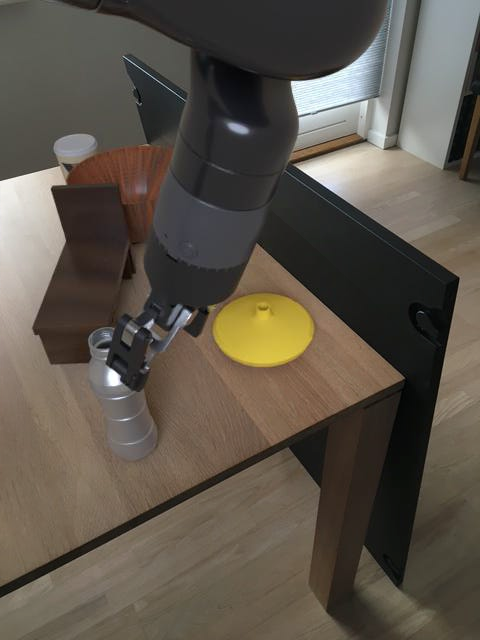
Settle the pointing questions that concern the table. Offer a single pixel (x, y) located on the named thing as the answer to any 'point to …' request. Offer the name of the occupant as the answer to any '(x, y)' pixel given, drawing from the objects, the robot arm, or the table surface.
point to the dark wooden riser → (84, 270)
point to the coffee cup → (74, 151)
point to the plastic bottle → (119, 404)
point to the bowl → (128, 181)
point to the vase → (263, 330)
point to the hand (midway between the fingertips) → (162, 356)
